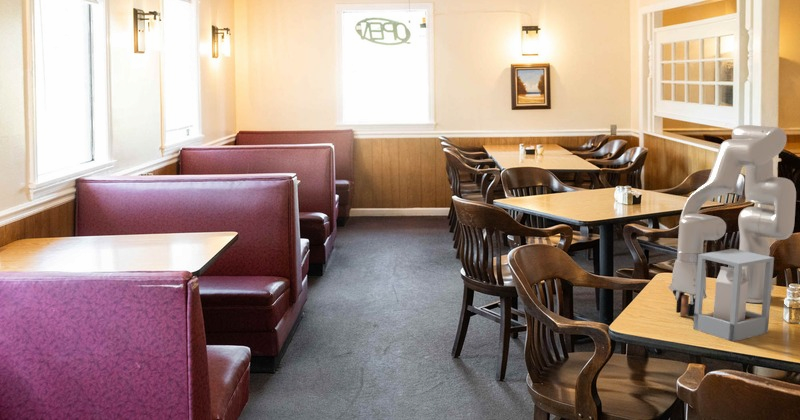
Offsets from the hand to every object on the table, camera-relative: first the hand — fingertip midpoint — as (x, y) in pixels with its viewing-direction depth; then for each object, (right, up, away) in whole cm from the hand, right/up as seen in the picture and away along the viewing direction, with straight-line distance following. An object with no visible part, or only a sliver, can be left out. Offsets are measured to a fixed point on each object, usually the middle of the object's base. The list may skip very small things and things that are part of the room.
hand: (686, 313), depth 267 cm
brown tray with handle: (+5, -2, -8) cm, 10 cm away
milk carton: (+8, -4, -13) cm, 16 cm away
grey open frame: (+9, -4, -14) cm, 17 cm away
